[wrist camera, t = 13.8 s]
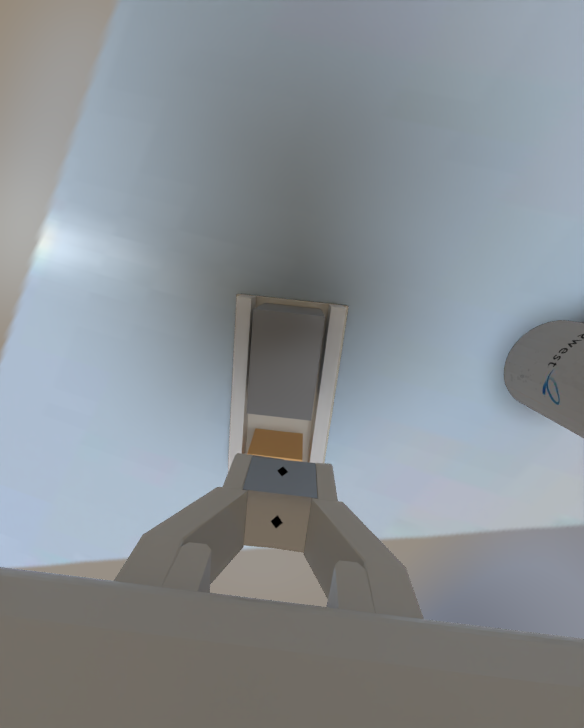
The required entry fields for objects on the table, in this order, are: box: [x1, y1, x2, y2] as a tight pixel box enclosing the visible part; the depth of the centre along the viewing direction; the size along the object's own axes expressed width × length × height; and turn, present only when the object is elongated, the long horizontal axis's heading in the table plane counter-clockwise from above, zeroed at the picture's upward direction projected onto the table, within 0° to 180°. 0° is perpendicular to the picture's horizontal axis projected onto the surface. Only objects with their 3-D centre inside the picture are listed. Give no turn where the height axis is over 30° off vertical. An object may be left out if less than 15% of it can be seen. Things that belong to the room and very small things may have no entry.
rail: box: [228, 294, 349, 472], centre depth 27 cm, size 18×10×6 cm, turn 174°
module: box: [247, 303, 325, 421], centre depth 24 cm, size 8×5×6 cm, turn 174°
